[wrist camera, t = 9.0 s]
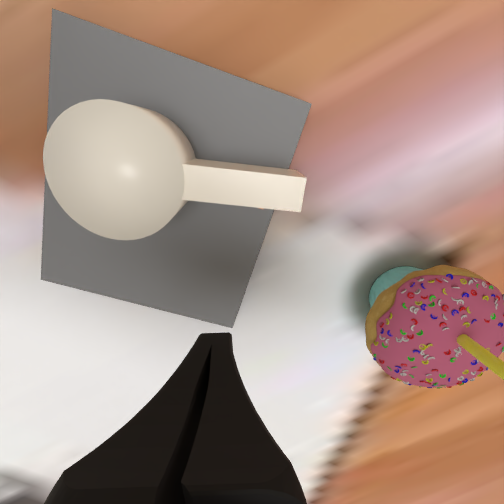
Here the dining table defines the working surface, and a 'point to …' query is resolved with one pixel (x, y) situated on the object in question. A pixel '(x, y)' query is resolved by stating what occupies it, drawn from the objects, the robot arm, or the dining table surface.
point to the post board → (205, 147)
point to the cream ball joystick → (146, 171)
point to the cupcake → (435, 325)
